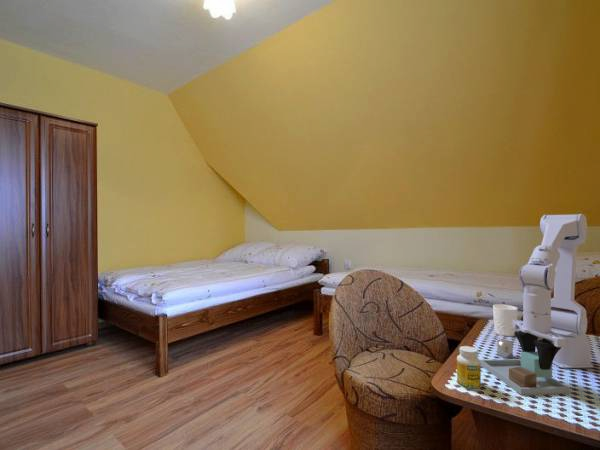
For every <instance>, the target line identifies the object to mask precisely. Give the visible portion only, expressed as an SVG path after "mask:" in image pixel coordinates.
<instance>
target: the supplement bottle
mask: <svg viewBox="0 0 600 450" xmlns="http://www.w3.org/2000/svg"><path fill="white" fill-rule="evenodd" d="M480 360H481V359H480V358H478V350H477V348H474V347H472V346H468V345H464V346H460V347H459V354H458V355H457V356H456V383H457V385H458V386H460V387H462V388H464V389H467V390H470V391H471V390H472V391H473V390H474V391H476V390H480V389H481V386H482V385H481V384H482V381H481V379H482V378H481V373H482V372H481V371H482V370H481V367H482V366H481V363H480Z"/></svg>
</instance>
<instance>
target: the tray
mask: <svg viewBox="0 0 600 450" xmlns="http://www.w3.org/2000/svg"><path fill="white" fill-rule="evenodd" d="M479 360H480V363H481V367H482V368H484V369H485V370H486V371H487V372H489V373H490V374H491V375H493V376H494V377H496V378H497V379H498V380H500V381H501V382H502V383H504V384H505V385H507V386H508V387H509V388H511V389H512V390H513V391H515V392H516V393H517V394H519V395H520V396H530V395H531V396H533V395H534V396H537V395H539V396H540V395H570V387H569V386H567V385H565V384H564V383H563V382H561V381H559V380H558V379H556V378H553V376H552V377H536V387H525V388H521V387H520V386H518V385H517V384H516V383H514V382H513V381H511V380H510V379H509V368H514V367H520V366H521V358H512V359H506V358H500V359H496V358H494V359H479Z"/></svg>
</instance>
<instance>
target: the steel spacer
mask: <svg viewBox="0 0 600 450" xmlns="http://www.w3.org/2000/svg"><path fill="white" fill-rule="evenodd" d="M496 341H497V344H496V346H497V347H496V348H497V356H498V357H500V358H501V359H514V342H513V341H511V340H508V339H504V338H503V339H501V338H499V339H497V340H496Z"/></svg>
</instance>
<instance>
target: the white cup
mask: <svg viewBox="0 0 600 450" xmlns="http://www.w3.org/2000/svg"><path fill="white" fill-rule="evenodd" d="M518 309H519V308H518V307H517V306H514V305H510V304H504V303H503V304H501V303H500V304H499V303H497V304H496V303H495V304H493V305H492V315H493V326H494V329H493V330H494V333H496V334H497V335H501V336H505V337H516V336H515V334H514V332H516V331H517V328H514V327H513V320H518V312H519V311H518Z"/></svg>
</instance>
